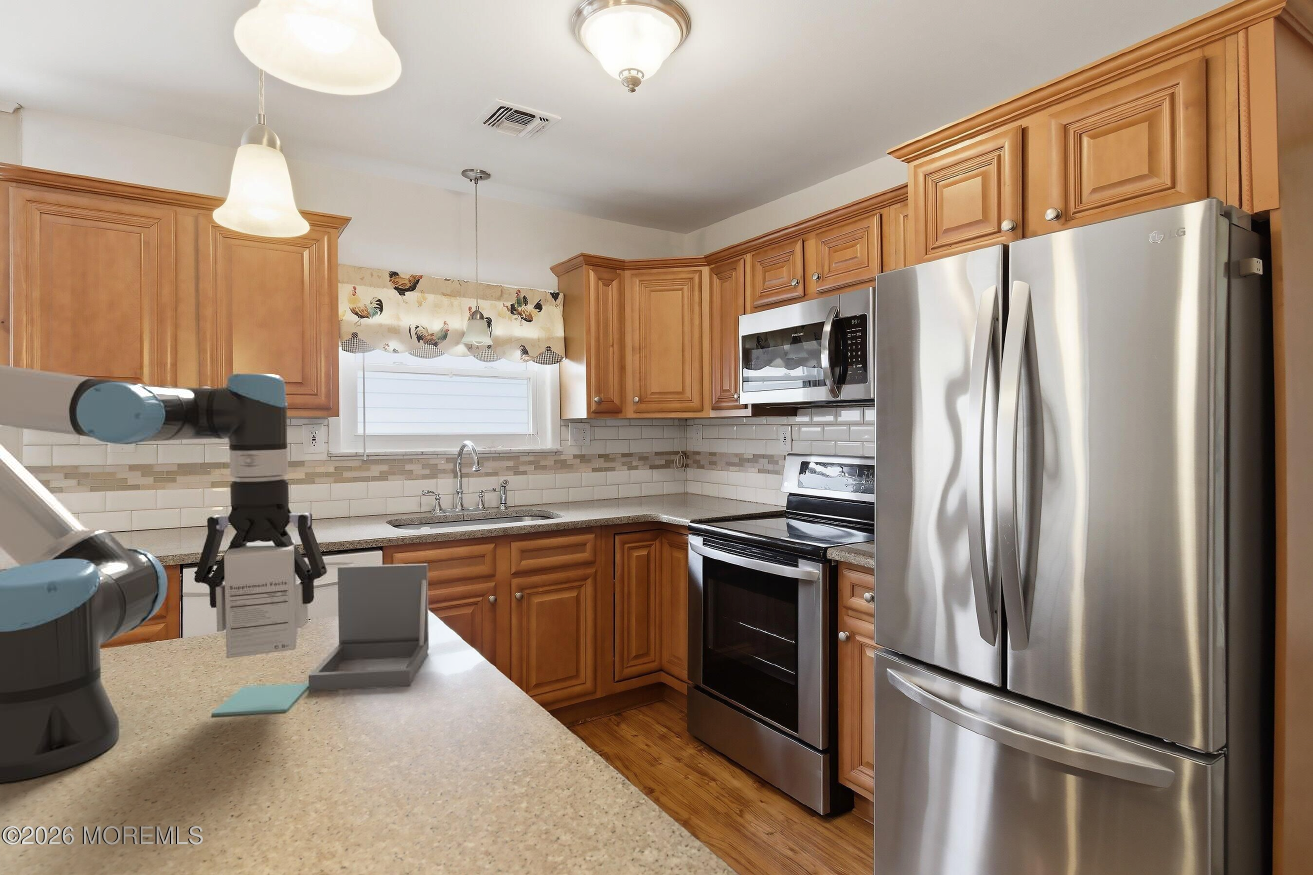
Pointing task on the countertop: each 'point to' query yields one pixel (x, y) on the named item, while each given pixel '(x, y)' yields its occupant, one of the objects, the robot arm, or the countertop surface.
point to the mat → (262, 699)
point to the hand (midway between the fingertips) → (263, 626)
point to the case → (378, 626)
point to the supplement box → (260, 599)
